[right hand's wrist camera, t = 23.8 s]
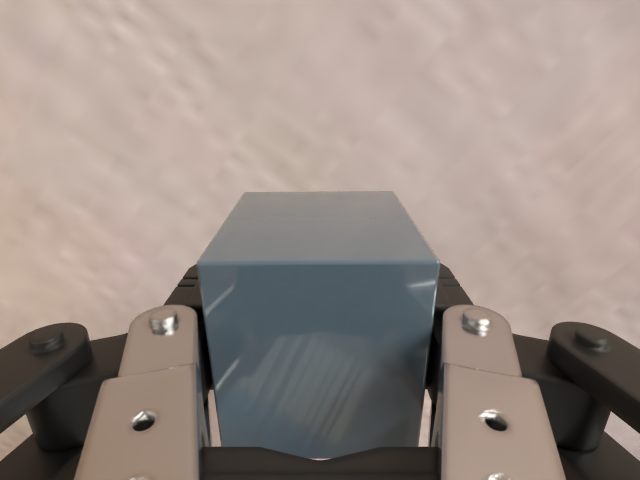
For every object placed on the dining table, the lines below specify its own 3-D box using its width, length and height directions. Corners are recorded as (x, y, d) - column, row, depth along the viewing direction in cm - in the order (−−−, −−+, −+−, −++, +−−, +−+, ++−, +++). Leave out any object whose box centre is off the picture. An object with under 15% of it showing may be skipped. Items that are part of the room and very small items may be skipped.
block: (243, 191, 12) (194, 262, 7) (394, 190, 11) (442, 260, 7) (254, 332, 13) (222, 460, 9) (384, 332, 13) (418, 459, 9)
